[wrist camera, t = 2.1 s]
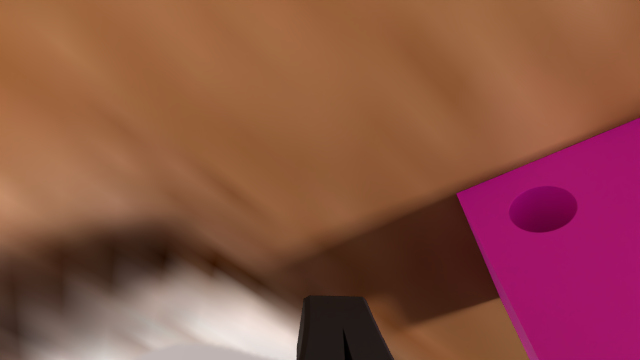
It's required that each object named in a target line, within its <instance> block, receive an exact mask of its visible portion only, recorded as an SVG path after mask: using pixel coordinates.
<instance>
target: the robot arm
mask: <svg viewBox="0 0 640 360" xmlns="http://www.w3.org/2000/svg"><path fill="white" fill-rule="evenodd" d="M297 360H394V358H393V357H392V355H391V353H390V351H389V349H388V347H387V345H386V343H385V341H384V339H383V337H382V335H381V333H380V331H379V328H378V326H377V324H376V322H375V320H374V318H373V315H372V313H371V311H370V308H369V306H368V304H367V301H366V300H365V299H364V298H363V297H349V296H308V297H306V298H304V301H303V308H302V315H301V322H300V329H299V336H298V343H297Z"/></svg>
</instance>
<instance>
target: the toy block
mask: <svg viewBox="0 0 640 360" xmlns="http://www.w3.org/2000/svg"><path fill="white" fill-rule="evenodd" d="M456 194H457V197H458V199H459V201H460V204H461V206H462V208H463V211H464V213H465V216H466V218H467V220H468V223H469V225H470V227H471V230H472V232H473V235H474V237H475V239H476V242H477V244H478V246H479V249H480V251H481V254H482V256H483V258H484V261H485V263H486V265H487V268H488V270H489V273H490V275H491V277H492V280H493V282H494V284H495V287H496V289H497V291H498V294H499V296H500V298H501V301H502V303H503V305H504V307H505V309H506V311H507V313H508V315H509V317H510V319H511V321H512V323H513V326H514V328H515V330H516V332H517V334H518V336H519V338H520V340H521V342H522V344H523V346H524V348H525V351H526V353H527V355H528V357H529V359H530V360H640V118H638V119H636V120H633V121H631V122H628V123H626V124H624V125H621V126H619V127H616V128H614V129H611V130H609V131H607V132H604V133H602V134H599V135H597V136H594V137H592V138H590V139H587V140H585V141H582V142H580V143H577V144H575V145H573V146H570V147H568V148H565V149H563V150H561V151H558V152H556V153H553V154H551V155H548V156H546V157H544V158H541V159H539V160H536V161H534V162H531V163H529V164H527V165H524V166H522V167H519V168H517V169H515V170H512V171H510V172H507V173H505V174H502V175H500V176H498V177H495V178H493V179H490V180H488V181H485V182H483V183H481V184H478V185H476V186H473V187H471V188H468V189H466V190H464V191H461V192H459V193H456Z"/></svg>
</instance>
